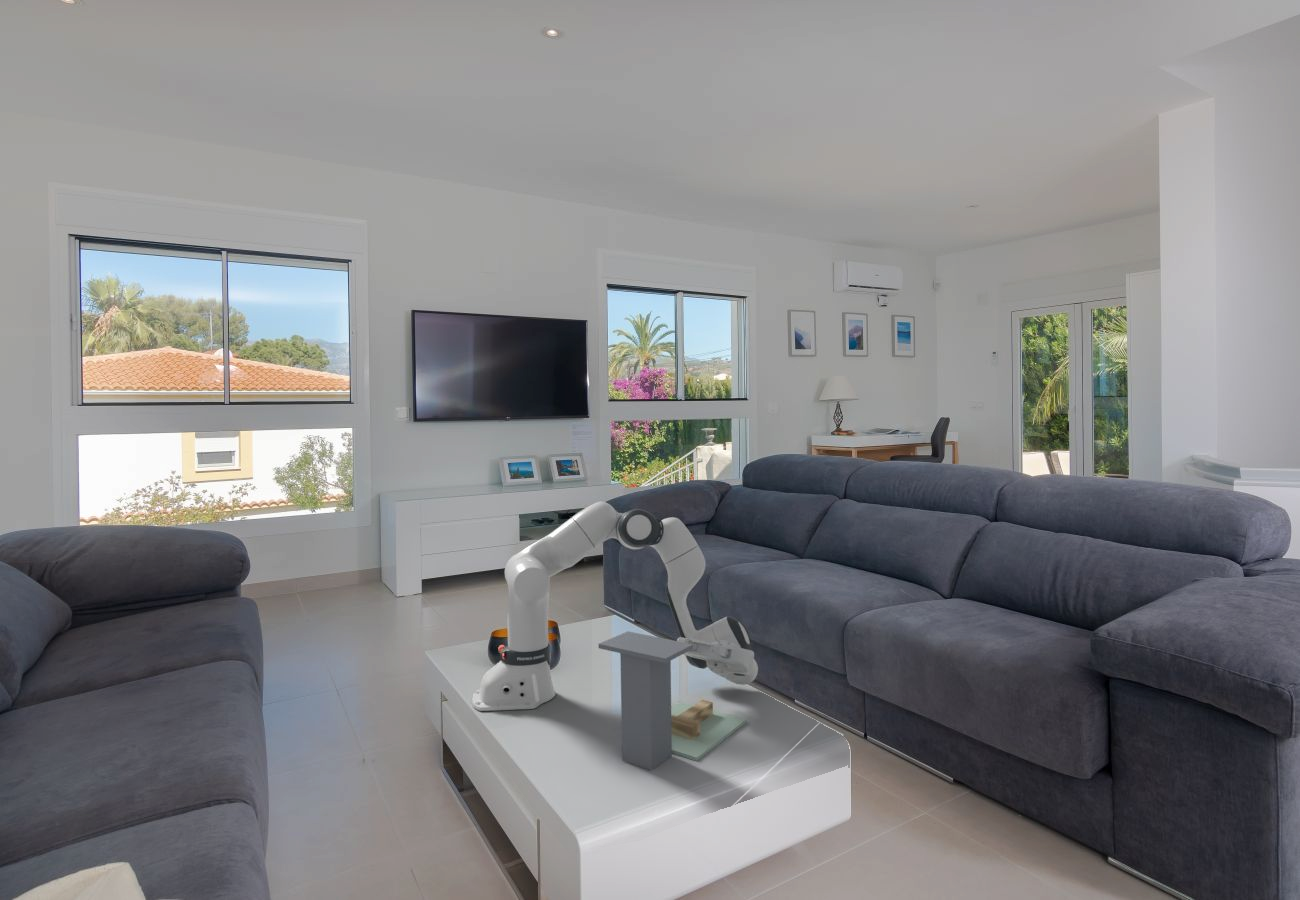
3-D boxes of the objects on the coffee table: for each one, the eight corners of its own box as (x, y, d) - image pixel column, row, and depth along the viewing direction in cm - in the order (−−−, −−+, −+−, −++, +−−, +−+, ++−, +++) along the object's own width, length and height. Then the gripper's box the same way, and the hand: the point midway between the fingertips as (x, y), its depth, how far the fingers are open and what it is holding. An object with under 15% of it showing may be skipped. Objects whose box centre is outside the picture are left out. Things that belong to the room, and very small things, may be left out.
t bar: (691, 708, 183) (691, 696, 183) (724, 717, 177) (724, 705, 177) (658, 729, 171) (658, 717, 171) (693, 739, 165) (693, 727, 165)
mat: (679, 704, 188) (679, 701, 188) (746, 722, 176) (746, 718, 176) (625, 738, 168) (625, 735, 168) (696, 761, 157) (696, 757, 157)
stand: (629, 738, 168) (627, 631, 167) (694, 759, 158) (692, 644, 156) (600, 757, 159) (598, 643, 158) (666, 780, 149) (665, 658, 147)
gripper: (692, 639, 194) (668, 625, 184) (760, 653, 182) (738, 639, 172) (686, 662, 191) (661, 649, 181) (754, 677, 180) (732, 664, 170)
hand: (699, 644), depth 176 cm, fingers open, 6 cm apart
